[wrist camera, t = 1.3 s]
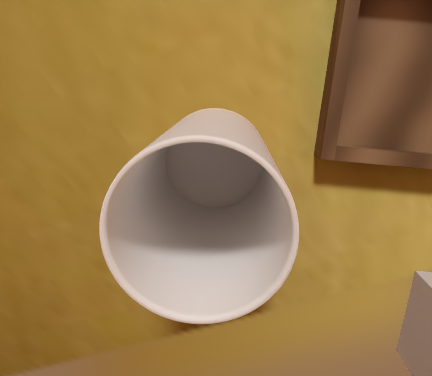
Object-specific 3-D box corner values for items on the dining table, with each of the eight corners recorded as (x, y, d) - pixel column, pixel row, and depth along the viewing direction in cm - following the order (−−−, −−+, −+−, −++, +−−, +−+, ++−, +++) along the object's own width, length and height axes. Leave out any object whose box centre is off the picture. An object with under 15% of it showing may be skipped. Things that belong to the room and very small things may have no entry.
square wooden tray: (314, 153, 31) (320, 159, 29) (340, -22, 28) (350, -31, 25) (473, 168, 31) (492, 174, 29) (519, -7, 28) (545, -15, 25)
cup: (157, 200, 33) (90, 308, 17) (170, 99, 30) (107, 119, 15) (255, 216, 33) (277, 339, 17) (275, 117, 30) (321, 154, 15)
